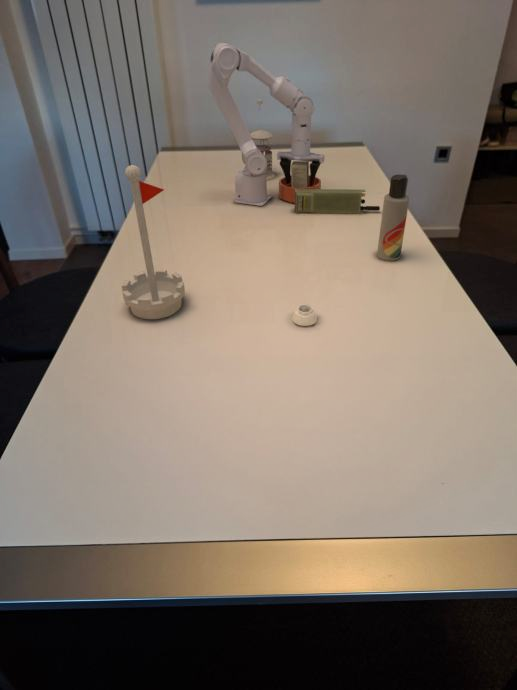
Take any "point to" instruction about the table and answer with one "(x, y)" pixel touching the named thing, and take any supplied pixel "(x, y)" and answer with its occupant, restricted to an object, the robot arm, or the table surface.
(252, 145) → the robot arm
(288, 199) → the bowl
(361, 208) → the handheld radio
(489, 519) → the table surface
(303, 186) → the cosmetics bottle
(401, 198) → the lotion bottle
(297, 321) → the white jar
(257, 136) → the weather station
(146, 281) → the flag stand
